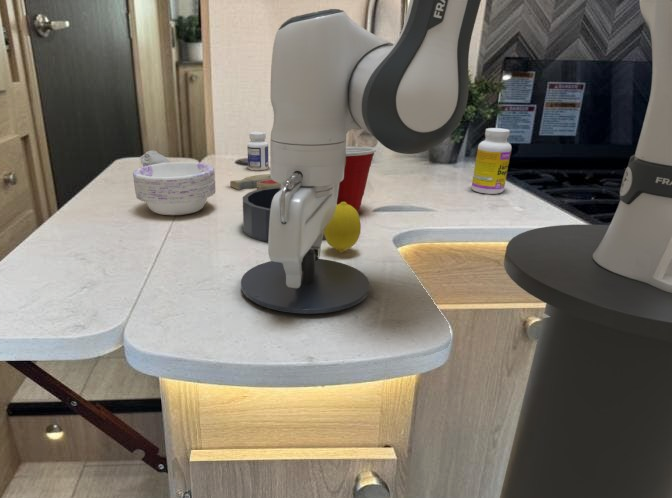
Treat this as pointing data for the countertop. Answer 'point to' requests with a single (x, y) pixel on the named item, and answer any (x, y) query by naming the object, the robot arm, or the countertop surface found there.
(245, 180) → the toy food set
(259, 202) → the pot
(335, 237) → the lemon
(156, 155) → the frog figurine
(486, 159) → the supplement bottle
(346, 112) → the robot arm
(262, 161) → the pill bottle
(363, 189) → the plastic cup
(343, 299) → the lid
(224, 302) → the countertop surface
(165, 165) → the paper bowls
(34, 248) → the countertop surface
